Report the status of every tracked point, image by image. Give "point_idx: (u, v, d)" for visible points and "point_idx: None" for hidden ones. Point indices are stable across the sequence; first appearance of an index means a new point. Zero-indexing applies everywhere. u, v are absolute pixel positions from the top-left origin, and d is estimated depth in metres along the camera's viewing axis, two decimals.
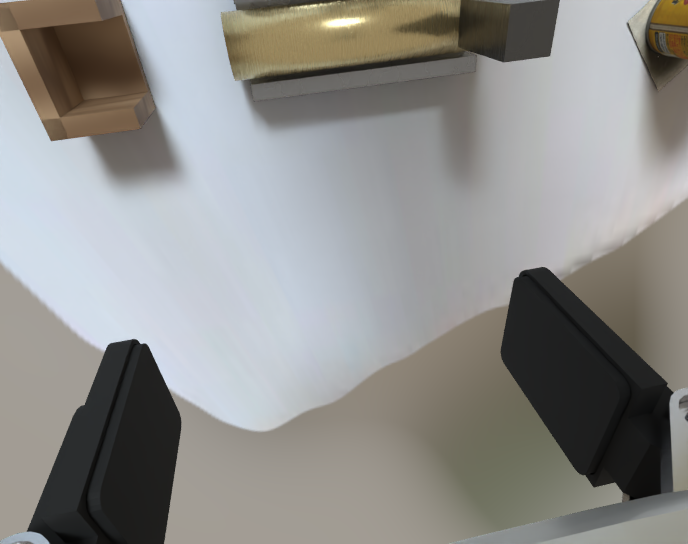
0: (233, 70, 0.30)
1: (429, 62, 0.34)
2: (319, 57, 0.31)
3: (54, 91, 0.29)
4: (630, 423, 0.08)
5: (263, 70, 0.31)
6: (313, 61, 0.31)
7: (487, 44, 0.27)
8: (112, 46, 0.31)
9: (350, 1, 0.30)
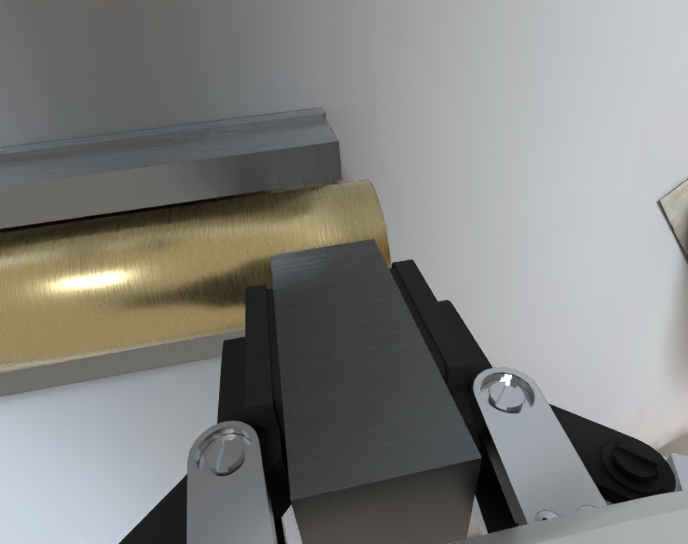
0: None
1: None
2: None
3: None
4: None
5: None
6: None
7: None
8: None
9: None
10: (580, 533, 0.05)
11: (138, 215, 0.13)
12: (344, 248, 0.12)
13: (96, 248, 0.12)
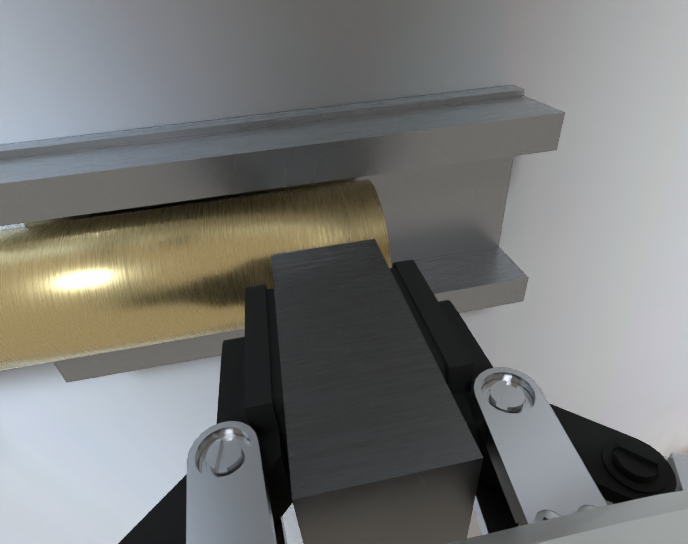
0: None
1: None
2: None
3: None
4: None
5: None
6: None
7: None
8: None
9: None
10: (580, 533, 0.05)
11: (138, 214, 0.13)
12: (345, 248, 0.12)
13: (96, 247, 0.12)
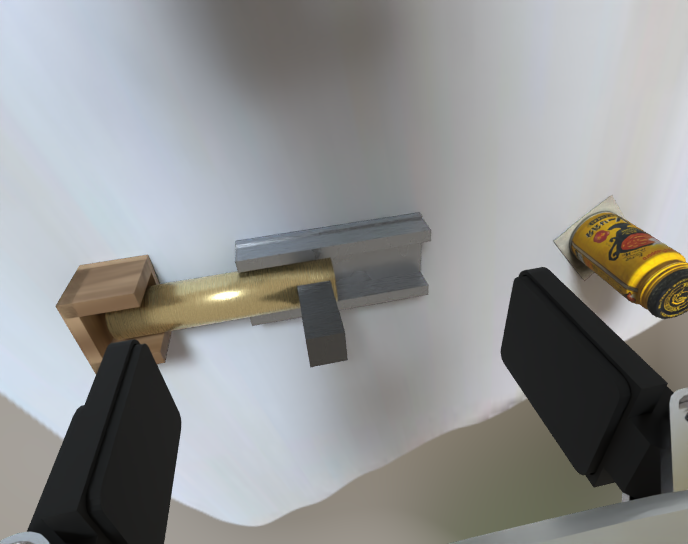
0: (117, 339, 0.38)
1: (390, 292, 0.43)
2: (187, 326, 0.39)
3: (100, 341, 0.38)
4: (630, 423, 0.08)
5: (143, 335, 0.39)
6: (183, 327, 0.39)
7: None
8: None
9: (209, 286, 0.38)
10: (580, 533, 0.05)
11: (251, 271, 0.39)
12: (320, 283, 0.38)
13: (241, 283, 0.38)
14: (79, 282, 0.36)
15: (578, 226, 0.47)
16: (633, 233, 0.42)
